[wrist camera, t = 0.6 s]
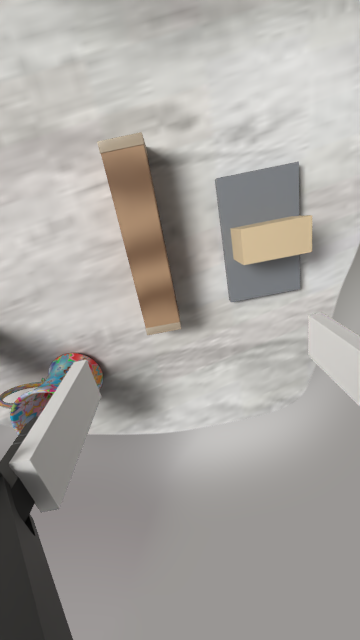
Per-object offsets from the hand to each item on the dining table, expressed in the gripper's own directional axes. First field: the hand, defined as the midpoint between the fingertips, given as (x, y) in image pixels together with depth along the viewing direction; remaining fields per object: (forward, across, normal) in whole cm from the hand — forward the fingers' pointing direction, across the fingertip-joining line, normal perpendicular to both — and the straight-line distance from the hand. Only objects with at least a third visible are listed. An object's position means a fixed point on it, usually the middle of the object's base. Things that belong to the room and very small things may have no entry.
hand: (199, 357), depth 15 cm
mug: (+23, -21, -12) cm, 33 cm away
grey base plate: (+23, +11, +3) cm, 26 cm away
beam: (+23, -4, +5) cm, 24 cm away
